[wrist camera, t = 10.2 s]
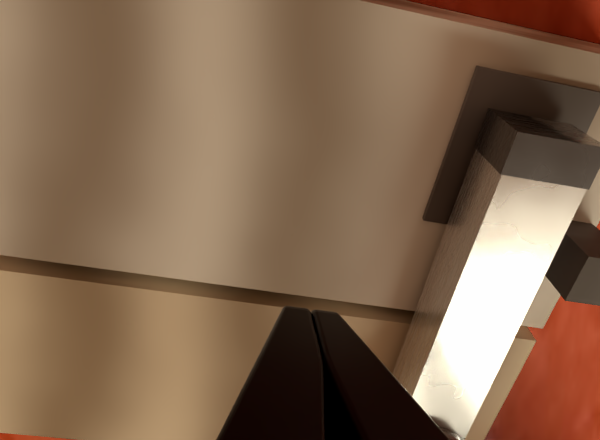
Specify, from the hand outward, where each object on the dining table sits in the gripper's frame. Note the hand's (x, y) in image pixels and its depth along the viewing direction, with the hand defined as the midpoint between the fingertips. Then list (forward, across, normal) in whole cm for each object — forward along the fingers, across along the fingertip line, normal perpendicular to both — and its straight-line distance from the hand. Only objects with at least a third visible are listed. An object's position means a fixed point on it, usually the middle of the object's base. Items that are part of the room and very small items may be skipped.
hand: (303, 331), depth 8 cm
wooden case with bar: (+13, -1, +5) cm, 14 cm away
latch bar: (+8, -7, +5) cm, 12 cm away
